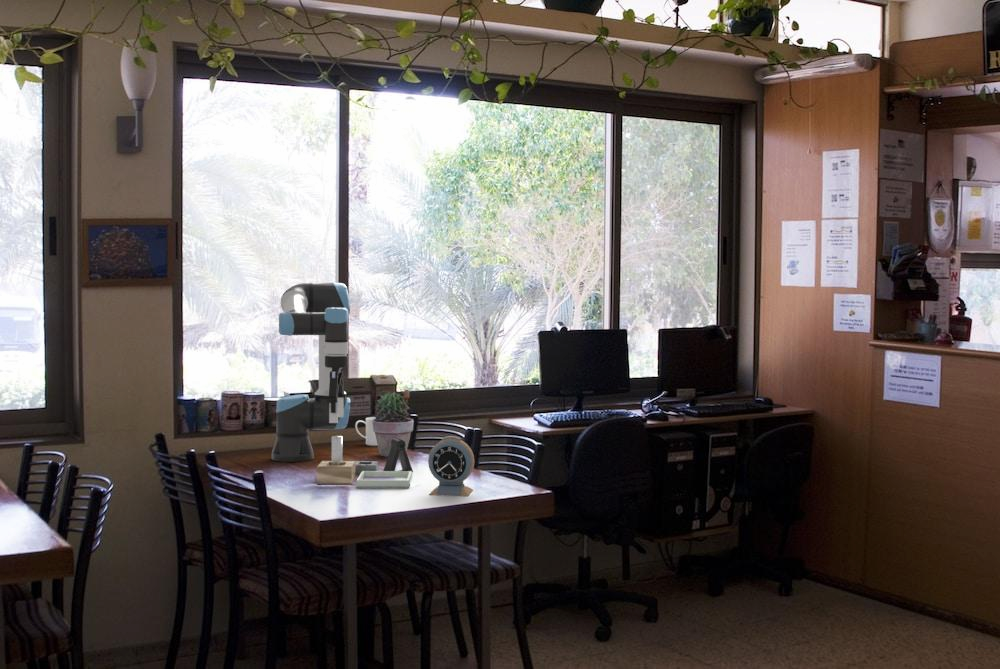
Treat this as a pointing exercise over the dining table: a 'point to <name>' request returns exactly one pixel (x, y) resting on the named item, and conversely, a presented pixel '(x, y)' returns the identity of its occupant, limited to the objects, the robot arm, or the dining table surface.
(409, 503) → the dining table surface
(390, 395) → the potted plant
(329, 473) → the bore block
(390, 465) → the dark grey a-frame stand
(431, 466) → the alarm clock
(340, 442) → the white peg
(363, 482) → the tray
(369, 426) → the white pitcher
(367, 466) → the gauge stand
